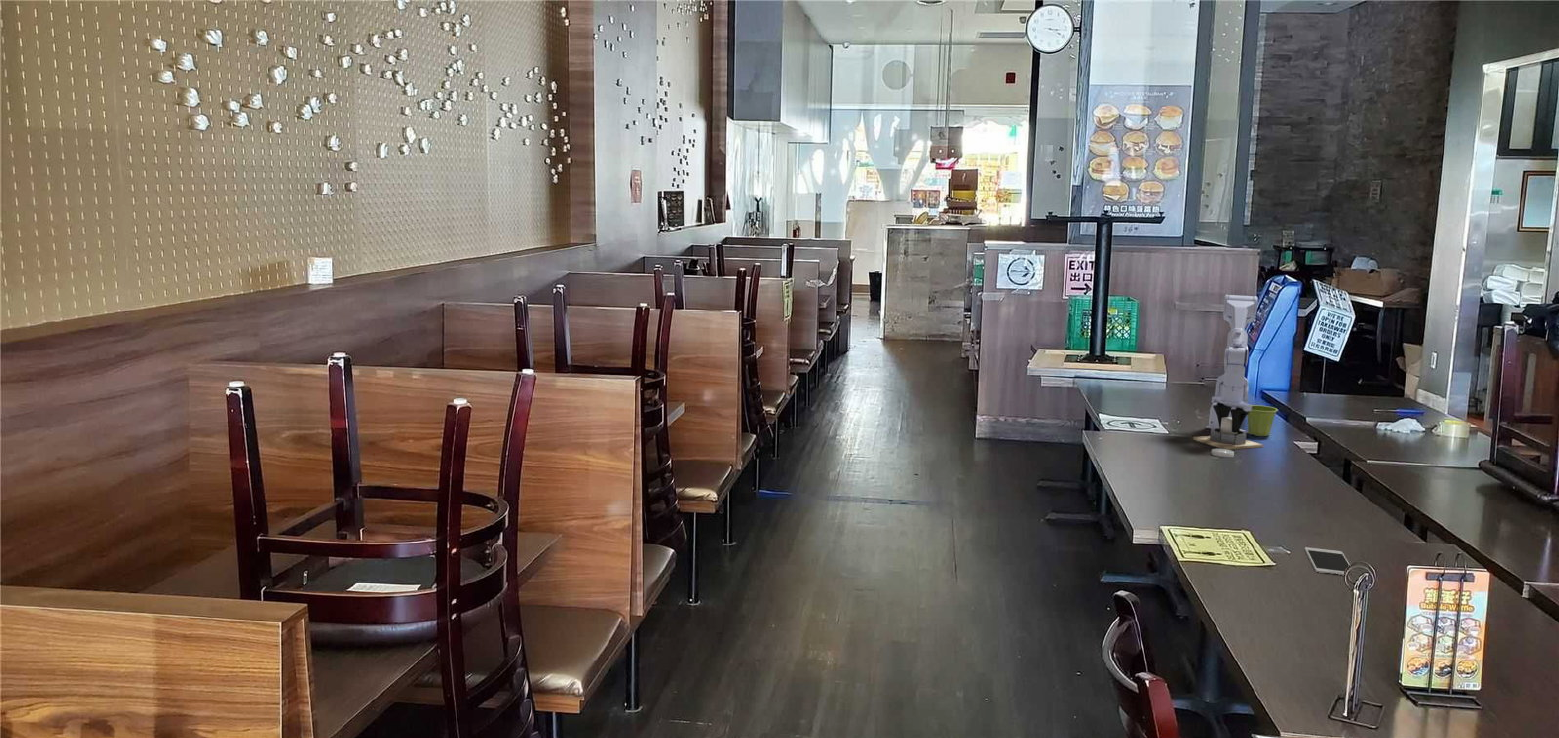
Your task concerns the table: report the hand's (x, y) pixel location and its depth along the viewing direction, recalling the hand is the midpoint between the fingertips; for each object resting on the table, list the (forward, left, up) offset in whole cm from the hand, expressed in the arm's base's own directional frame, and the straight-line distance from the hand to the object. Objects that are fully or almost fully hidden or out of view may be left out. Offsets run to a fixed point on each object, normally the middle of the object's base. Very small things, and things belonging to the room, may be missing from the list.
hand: (1228, 430), depth 322 cm
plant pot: (-8, +20, -4) cm, 22 cm away
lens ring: (0, 0, -4) cm, 4 cm away
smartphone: (+94, -61, -5) cm, 112 cm away
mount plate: (0, 0, -4) cm, 4 cm away
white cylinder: (0, 0, -2) cm, 2 cm away
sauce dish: (+12, -13, -4) cm, 18 cm away
